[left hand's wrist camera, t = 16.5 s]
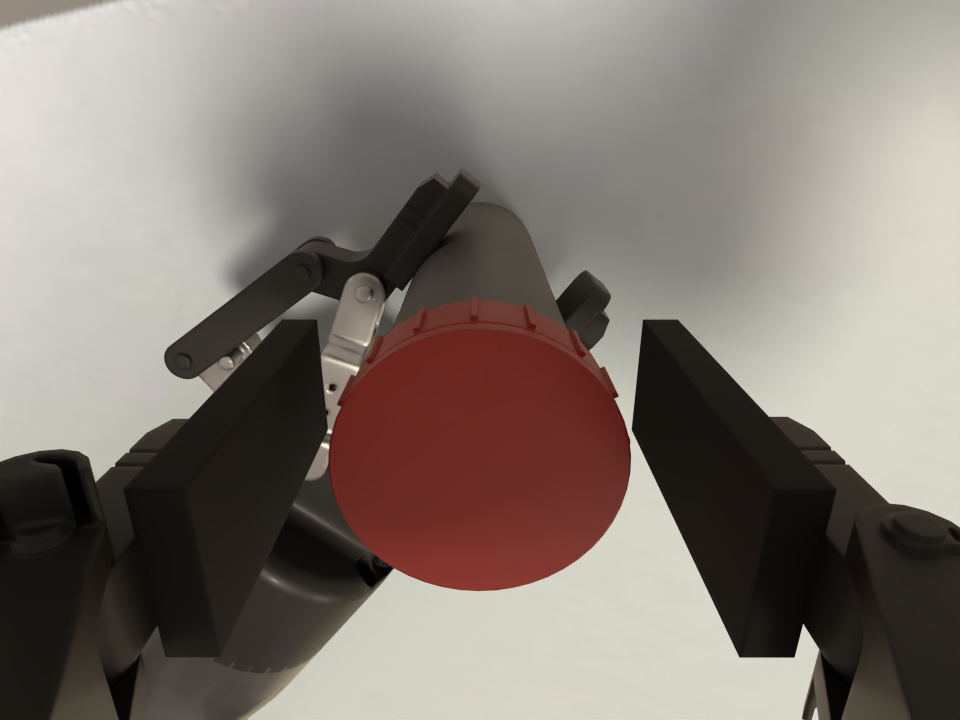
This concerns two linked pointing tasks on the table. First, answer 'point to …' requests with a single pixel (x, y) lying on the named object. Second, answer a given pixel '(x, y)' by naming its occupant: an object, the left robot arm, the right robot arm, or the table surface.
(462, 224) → the jar
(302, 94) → the table surface
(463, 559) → the lid
